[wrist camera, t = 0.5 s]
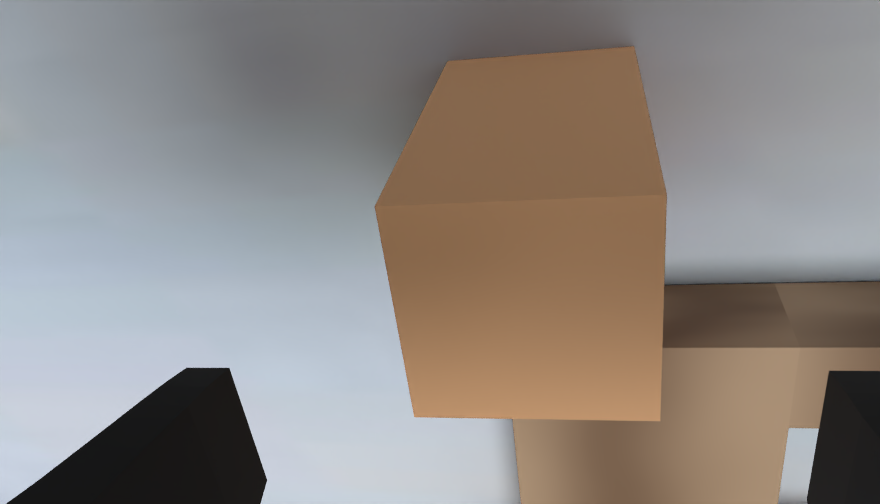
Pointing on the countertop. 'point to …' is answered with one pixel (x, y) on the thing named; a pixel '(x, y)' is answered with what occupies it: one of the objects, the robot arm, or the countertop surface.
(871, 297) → the socket block
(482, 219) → the peg
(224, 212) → the countertop surface
